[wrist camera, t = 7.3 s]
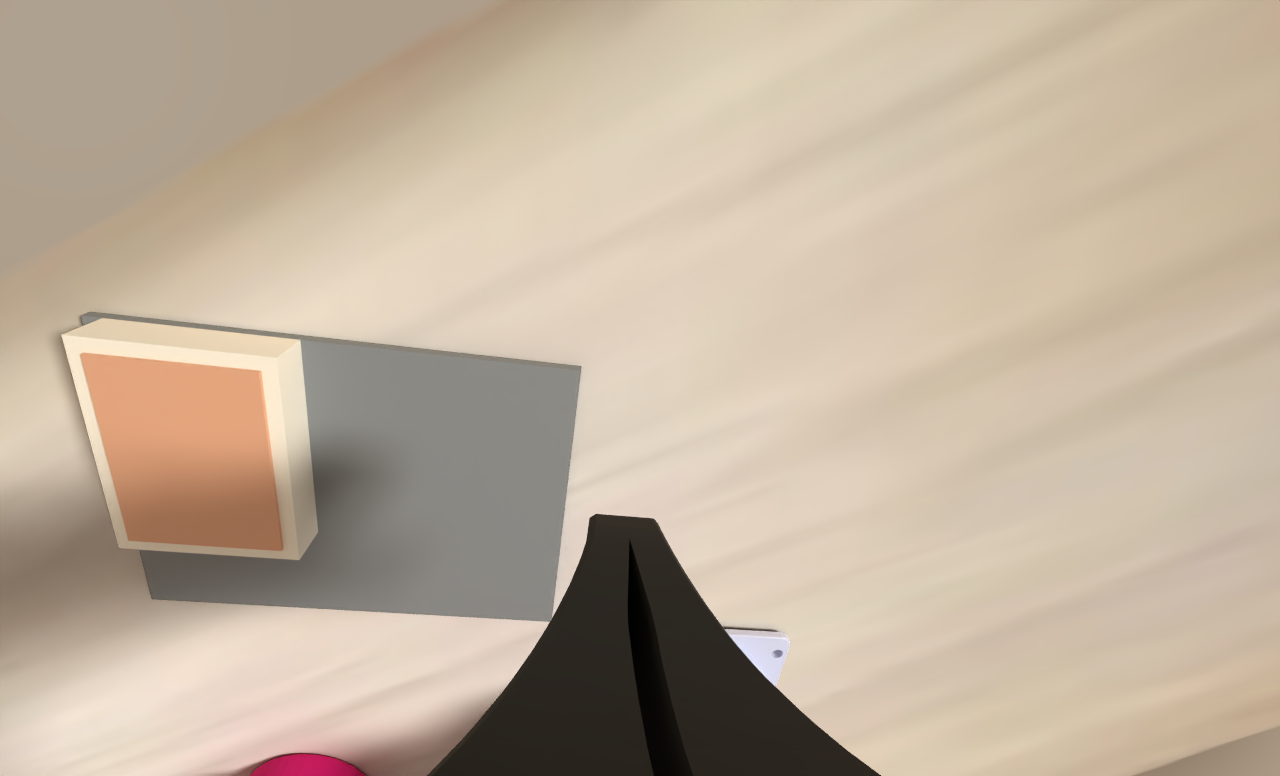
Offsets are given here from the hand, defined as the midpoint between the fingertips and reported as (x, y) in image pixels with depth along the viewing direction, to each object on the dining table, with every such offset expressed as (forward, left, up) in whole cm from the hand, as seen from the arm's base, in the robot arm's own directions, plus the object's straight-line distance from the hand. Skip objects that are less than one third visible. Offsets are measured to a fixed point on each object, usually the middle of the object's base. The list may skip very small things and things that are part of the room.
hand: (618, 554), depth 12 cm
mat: (-6, +9, -10) cm, 15 cm away
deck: (-4, +10, -9) cm, 14 cm away
